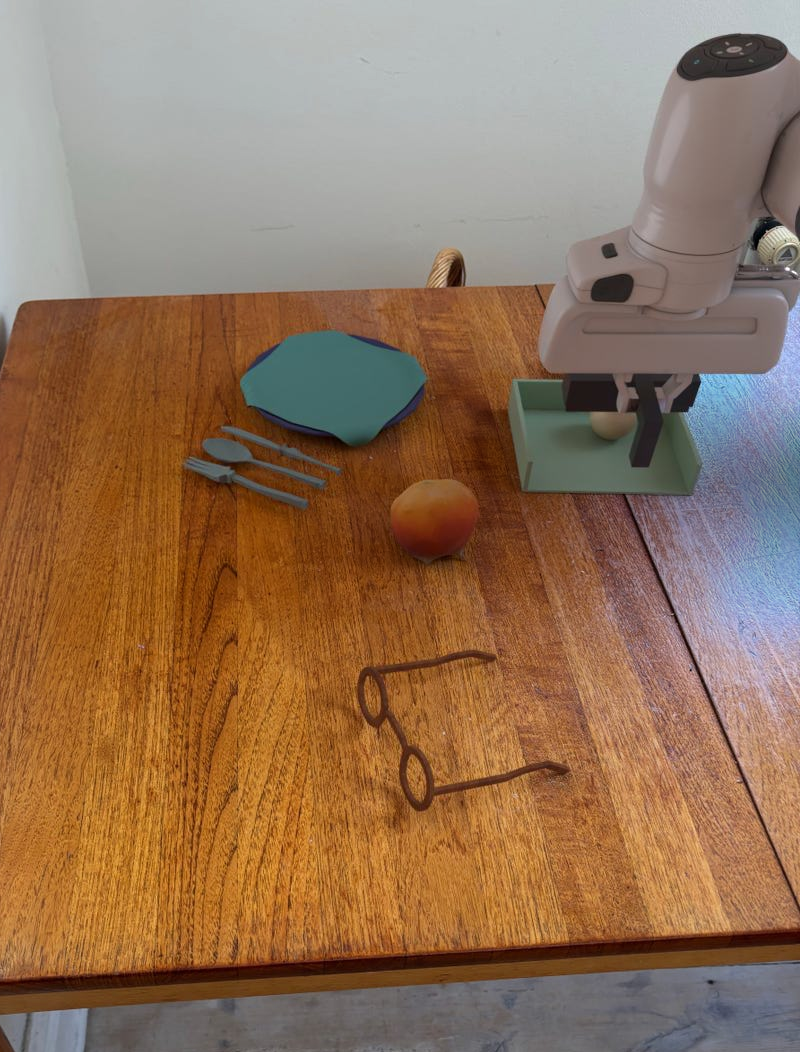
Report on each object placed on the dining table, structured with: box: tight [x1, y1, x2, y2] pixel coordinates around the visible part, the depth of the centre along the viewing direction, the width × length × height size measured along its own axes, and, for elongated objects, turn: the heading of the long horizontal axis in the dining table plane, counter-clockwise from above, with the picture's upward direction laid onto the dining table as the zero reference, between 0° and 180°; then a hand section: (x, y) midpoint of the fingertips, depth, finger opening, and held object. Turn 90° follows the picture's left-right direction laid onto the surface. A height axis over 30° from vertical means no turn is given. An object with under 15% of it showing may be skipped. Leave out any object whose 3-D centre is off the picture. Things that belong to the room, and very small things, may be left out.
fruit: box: [390, 478, 480, 567], centre depth 97 cm, size 8×8×8 cm
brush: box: [561, 373, 702, 468], centre depth 96 cm, size 10×12×5 cm
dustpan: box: [507, 378, 703, 496], centre depth 111 cm, size 24×17×4 cm
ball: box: [590, 412, 637, 440], centre depth 109 cm, size 5×5×5 cm
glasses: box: [356, 648, 571, 812], centre depth 81 cm, size 13×13×5 cm
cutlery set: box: [181, 329, 430, 511], centre depth 112 cm, size 20×30×2 cm, turn 149°
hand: (641, 409), depth 94 cm, fingers closed on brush
